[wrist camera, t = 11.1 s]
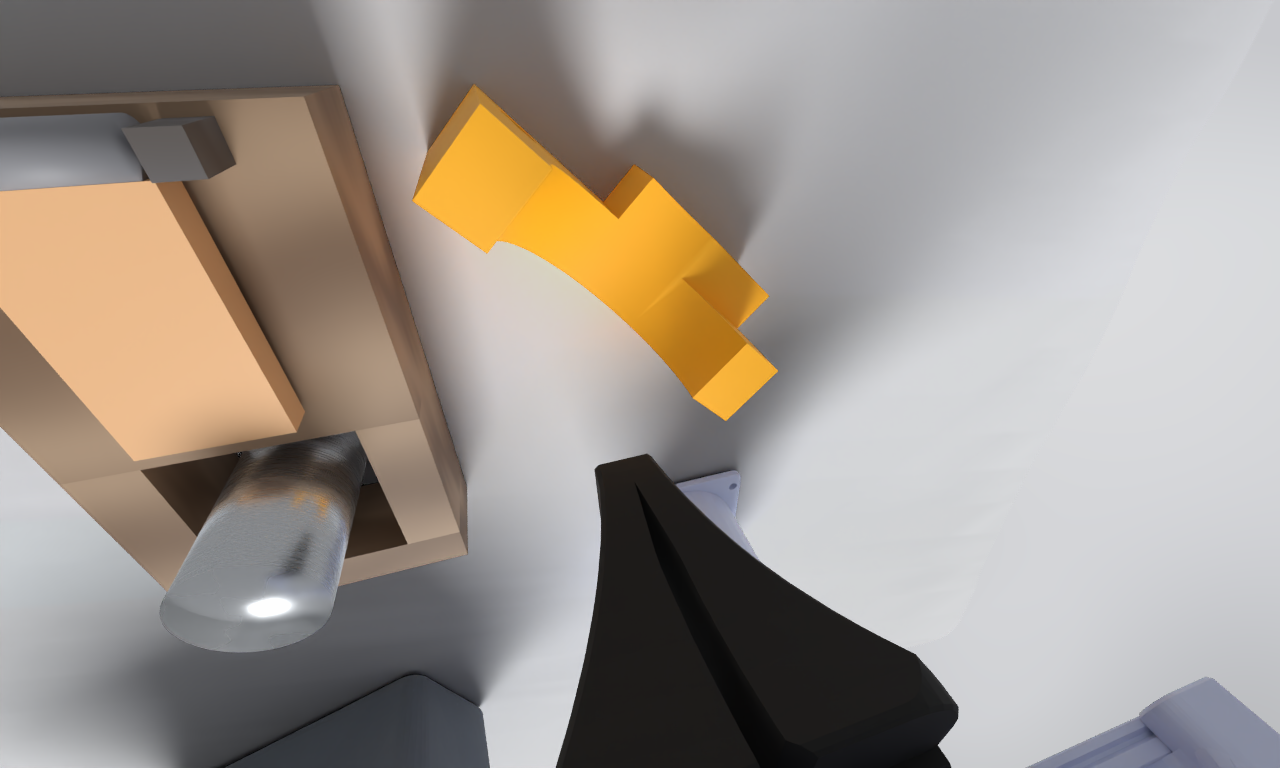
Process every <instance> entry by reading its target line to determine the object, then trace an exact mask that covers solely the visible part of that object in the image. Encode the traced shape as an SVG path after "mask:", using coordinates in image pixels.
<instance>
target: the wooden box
mask: <svg viewBox="0 0 1280 768" xmlns="http://www.w3.org/2000/svg"><path fill="white" fill-rule="evenodd" d="M99 113H126V114H128V115H130V116H132V117H133V118H135V119H136V120H137V121H138V122H139V123H140V124H137V125H133V126H129V127H125V128H121V129H122V131H123V133H124V135H125V136H126V138H127V140H128V142H129V143H130V145H131V147H132V149H133V151H134V152H135V154H136V156H137V158H138V159H139V161H140V163H141V165H142V167H143V168H144V170H145V172H146V174H147V175H148V177H149V179H150V181H151V182H152V183H162V182H176V181H182V183H183V185H184V187H185V189H186V190H187V192H188V194H189V196H190V198H191V200H192V202H193V204H194V205H195V207H196V209H197V211H198V213H199V215H200V217H201V218H202V220H203V222H204V224H205V226H206V228H207V230H208V231H209V233H210V235H211V237H212V239H213V241H214V243H215V245H216V246H217V248H218V250H219V252H220V254H221V256H222V258H223V259H224V261H225V263H226V265H227V267H228V269H229V271H230V272H231V274H232V276H233V278H234V280H235V282H236V284H237V286H238V287H239V289H240V291H241V293H242V295H243V297H244V299H245V300H246V302H247V304H248V306H249V308H250V310H251V312H252V313H253V315H254V317H255V319H256V321H257V323H258V325H259V327H260V328H261V330H262V332H263V334H264V336H265V338H266V340H267V341H268V343H269V345H270V347H271V349H272V351H273V353H274V354H275V356H276V358H277V360H278V362H279V364H280V366H281V368H282V369H283V371H284V373H285V375H286V377H287V379H288V381H289V382H290V384H291V386H292V388H293V390H294V392H295V394H296V395H297V397H298V399H299V401H300V403H301V405H302V407H303V409H304V410H305V413H304V416H303V418H302V421H301V423H300V426H299V428H298V430H297V432H296V433H290V434H284V435H279V436H273V437H268V438H262V439H256V440H251V441H245V442H240V443H234V444H229V445H223V446H217V447H212V448H206V449H201V450H195V451H189V452H184V453H178V454H173V455H167V456H161V457H156V458H150V459H145V460H139V461H133V459H132V458H131V457H130V456H129V455H128V454H127V453H126V451H125V450H124V449H123V448H122V447H121V446H120V445H119V443H118V442H117V441H116V440H115V439H114V438H113V436H112V435H111V434H110V433H109V432H108V431H107V430H106V428H105V427H104V426H103V425H102V424H101V423H100V422H99V420H98V419H97V418H96V417H95V416H94V415H93V414H92V412H91V411H90V410H89V409H88V408H87V407H86V405H85V404H84V403H83V402H82V401H81V400H80V399H79V397H78V396H77V395H76V394H75V393H74V392H73V391H72V389H71V388H70V387H69V386H68V385H67V384H66V382H65V381H64V380H63V379H62V378H61V377H60V376H59V374H58V373H57V372H56V371H55V370H54V369H53V368H52V366H51V365H50V364H49V363H48V362H47V361H46V359H45V358H44V357H43V356H42V355H41V354H40V353H39V351H38V350H37V349H36V348H35V347H34V346H33V345H32V343H31V342H30V341H29V340H28V339H27V338H26V337H25V335H24V334H23V333H22V332H21V331H20V330H19V328H18V327H17V326H16V325H15V324H14V323H13V322H12V320H11V319H10V318H9V317H8V316H7V315H6V314H5V312H4V311H3V310H2V309H1V308H0V427H1V428H2V429H3V430H4V431H5V432H6V433H7V434H8V435H9V436H10V437H11V438H12V439H13V440H14V441H15V442H16V443H17V444H18V445H19V446H20V447H21V448H22V449H23V450H24V451H25V452H26V453H27V454H28V455H29V456H30V457H32V458H33V459H34V460H35V461H36V462H37V463H38V464H39V465H40V466H41V467H42V468H43V469H44V470H45V471H46V472H47V473H48V474H49V475H50V476H51V477H52V478H53V479H54V480H55V481H56V482H57V483H58V484H59V485H60V486H61V487H62V488H63V489H64V490H65V491H66V492H67V493H68V494H69V495H70V496H71V497H72V498H73V499H74V500H75V501H76V502H77V503H78V504H79V505H80V506H81V507H82V508H83V509H84V510H85V511H86V512H87V513H88V514H89V515H90V516H91V517H92V518H93V519H94V520H95V521H96V522H97V523H98V524H99V525H100V526H101V527H102V528H103V529H104V530H105V531H106V532H107V533H108V534H109V535H110V536H111V537H112V538H113V539H114V540H115V541H116V542H118V543H119V544H120V545H121V546H122V547H123V548H124V549H125V550H126V551H127V552H128V553H129V554H130V555H131V556H132V557H133V558H134V559H135V560H136V561H137V562H138V563H139V564H140V565H141V566H142V567H143V568H144V569H145V570H146V571H147V572H148V573H149V574H150V575H151V576H152V577H153V578H154V579H155V580H156V581H157V582H158V583H159V584H160V585H161V586H162V587H163V588H164V589H165V590H166V591H167V592H168V590H169V588H170V586H171V584H172V583H173V581H174V579H175V577H176V575H177V573H178V571H179V570H180V568H181V566H182V564H183V562H184V560H185V559H186V557H187V555H188V553H189V551H190V549H191V547H192V546H193V544H194V542H195V540H196V538H197V536H198V534H199V533H200V531H201V529H202V527H203V525H204V523H205V522H206V520H207V518H208V516H209V514H210V512H211V510H212V509H213V507H214V505H215V503H216V501H217V499H218V497H219V496H220V494H221V492H222V490H223V488H224V486H225V485H226V483H227V481H228V479H229V477H230V475H231V473H232V472H233V470H234V468H235V466H236V464H237V462H238V460H239V457H238V456H237V455H236V453H237V452H243V451H248V450H253V449H259V448H264V447H270V446H275V445H281V444H286V443H292V442H297V441H303V440H308V439H314V438H319V437H325V436H330V435H336V434H341V433H347V432H352V431H356V433H357V436H358V438H359V440H360V442H361V444H362V446H363V448H364V451H365V453H366V455H367V457H368V459H369V461H370V464H371V466H372V468H373V470H374V472H375V474H376V476H377V479H378V481H379V483H375V484H370V485H365V486H361V488H360V493H359V497H358V502H357V506H356V510H355V515H354V519H353V523H352V528H351V532H350V536H349V541H348V545H347V549H346V554H345V558H344V562H343V567H342V571H341V575H340V580H339V584H338V586H342V585H346V584H350V583H354V582H358V581H362V580H366V579H370V578H374V577H378V576H382V575H386V574H390V573H394V572H398V571H402V570H406V569H410V568H414V567H418V566H423V565H427V564H431V563H435V562H439V561H443V560H447V559H451V558H455V557H459V556H463V555H467V554H468V536H467V486H466V483H465V480H464V477H463V473H462V470H461V467H460V464H459V461H458V458H457V455H456V451H455V448H454V445H453V442H452V439H451V436H450V433H449V429H448V426H447V423H446V420H445V417H444V414H443V411H442V407H441V404H440V401H439V398H438V395H437V392H436V389H435V386H434V382H433V379H432V376H431V373H430V370H429V367H428V364H427V360H426V357H425V354H424V351H423V348H422V345H421V342H420V338H419V335H418V332H417V329H416V326H415V323H414V320H413V316H412V313H411V310H410V307H409V304H408V301H407V298H406V294H405V291H404V288H403V285H402V282H401V279H400V276H399V272H398V269H397V266H396V263H395V260H394V257H393V254H392V250H391V247H390V244H389V241H388V238H387V235H386V232H385V228H384V225H383V222H382V219H381V216H380V213H379V210H378V206H377V203H376V200H375V197H374V194H373V191H372V188H371V184H370V181H369V178H368V175H367V172H366V169H365V166H364V163H363V159H362V156H361V153H360V150H359V147H358V144H357V141H356V137H355V134H354V131H353V128H352V125H351V122H350V119H349V115H348V112H347V109H346V106H345V103H344V100H343V97H342V93H341V90H340V87H339V85H323V86H295V87H267V88H238V89H210V90H182V91H153V92H125V93H96V94H68V95H40V96H11V97H0V118H6V117H29V116H52V115H75V114H99Z"/></svg>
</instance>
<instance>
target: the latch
mask: <svg viewBox="0 0 1280 768" xmlns="http://www.w3.org/2000/svg"><path fill="white" fill-rule="evenodd" d="M137 124H140V123H139V122H138V121H137V120H136V119H135V118H133V117H132V116H130V115H128V114H126V113H99V114H75V115H52V116H29V117H6V118H0V308H1V309H2V310H3V311H4V312H5V314H6V315H7V316H8V317H9V318H10V319H11V320H12V322H13V323H14V324H15V325H16V326H17V327H18V328H19V330H20V331H21V332H22V333H23V334H24V335H25V337H26V338H27V339H28V340H29V341H30V342H31V343H32V345H33V346H34V347H35V348H36V349H37V350H38V351H39V353H40V354H41V355H42V356H43V357H44V358H45V359H46V361H47V362H48V363H49V364H50V365H51V366H52V368H53V369H54V370H55V371H56V372H57V373H58V374H59V376H60V377H61V378H62V379H63V380H64V381H65V382H66V384H67V385H68V386H69V387H70V388H71V389H72V391H73V392H74V393H75V394H76V395H77V396H78V397H79V399H80V400H81V401H82V402H83V403H84V404H85V405H86V407H87V408H88V409H89V410H90V411H91V412H92V414H93V415H94V416H95V417H96V418H97V419H98V420H99V422H100V423H101V424H102V425H103V426H104V427H105V428H106V430H107V431H108V432H109V433H110V434H111V435H112V436H113V438H114V439H115V440H116V441H117V442H118V443H119V445H120V446H121V447H122V448H123V449H124V450H125V451H126V453H127V454H128V455H129V456H130V457H131V458H132V459H133V461H139V460H145V459H150V458H156V457H161V456H167V455H173V454H178V453H184V452H189V451H195V450H201V449H206V448H212V447H217V446H223V445H229V444H234V443H240V442H245V441H251V440H256V439H262V438H268V437H273V436H279V435H284V434H290V433H296V432H297V430H298V428H299V426H300V423H301V421H302V418H303V416H304V413H305V410H304V409H303V407H302V405H301V403H300V401H299V399H298V397H297V395H296V394H295V392H294V390H293V388H292V386H291V384H290V382H289V381H288V379H287V377H286V375H285V373H284V371H283V369H282V368H281V366H280V364H279V362H278V360H277V358H276V356H275V354H274V353H273V351H272V349H271V347H270V345H269V343H268V341H267V340H266V338H265V336H264V334H263V332H262V330H261V328H260V327H259V325H258V323H257V321H256V319H255V317H254V315H253V313H252V312H251V310H250V308H249V306H248V304H247V302H246V300H245V299H244V297H243V295H242V293H241V291H240V289H239V287H238V286H237V284H236V282H235V280H234V278H233V276H232V274H231V272H230V271H229V269H228V267H227V265H226V263H225V261H224V259H223V258H222V256H221V254H220V252H219V250H218V248H217V246H216V245H215V243H214V241H213V239H212V237H211V235H210V233H209V231H208V230H207V228H206V226H205V224H204V222H203V220H202V218H201V217H200V215H199V213H198V211H197V209H196V207H195V205H194V204H193V202H192V200H191V198H190V196H189V194H188V192H187V190H186V189H185V187H184V185H183V183H182V181H176V182H162V183H152V182H151V181H150V179H149V177H148V175H147V174H146V172H145V170H144V168H143V167H142V165H141V163H140V161H139V159H138V158H137V156H136V154H135V152H134V151H133V149H132V147H131V145H130V143H129V142H128V140H127V138H126V136H125V135H124V133H123V131H122V129H121V128H125V127H129V126H133V125H137Z"/></svg>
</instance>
